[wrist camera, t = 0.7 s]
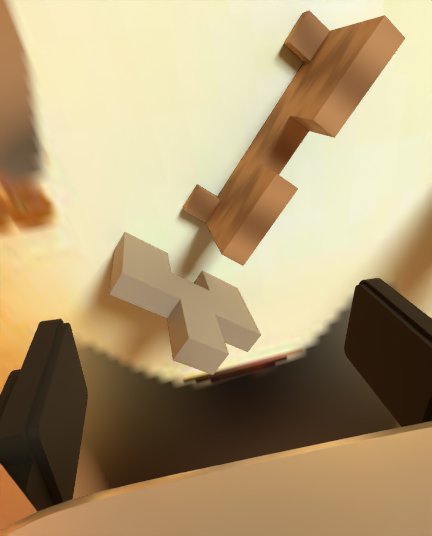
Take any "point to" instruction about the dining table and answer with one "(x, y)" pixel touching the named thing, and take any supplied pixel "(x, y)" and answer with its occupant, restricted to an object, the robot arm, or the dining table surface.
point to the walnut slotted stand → (295, 127)
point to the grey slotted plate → (183, 305)
